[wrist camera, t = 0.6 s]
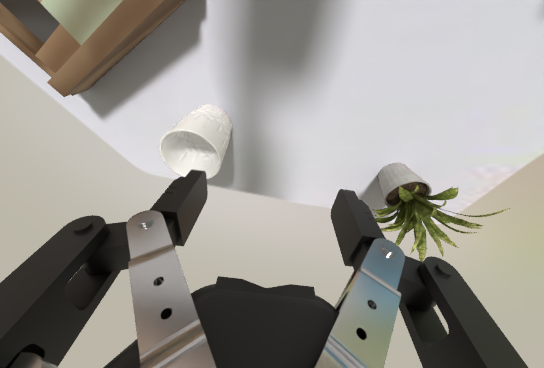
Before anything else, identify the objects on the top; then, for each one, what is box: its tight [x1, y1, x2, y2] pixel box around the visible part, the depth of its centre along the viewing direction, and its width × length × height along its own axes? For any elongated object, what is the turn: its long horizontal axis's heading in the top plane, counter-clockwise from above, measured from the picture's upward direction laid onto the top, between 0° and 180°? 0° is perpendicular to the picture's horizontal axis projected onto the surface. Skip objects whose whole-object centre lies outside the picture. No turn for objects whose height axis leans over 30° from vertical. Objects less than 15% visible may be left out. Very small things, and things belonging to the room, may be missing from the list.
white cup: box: [159, 104, 232, 179], centre depth 29 cm, size 8×8×10 cm
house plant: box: [372, 163, 507, 262], centre depth 31 cm, size 14×14×16 cm
